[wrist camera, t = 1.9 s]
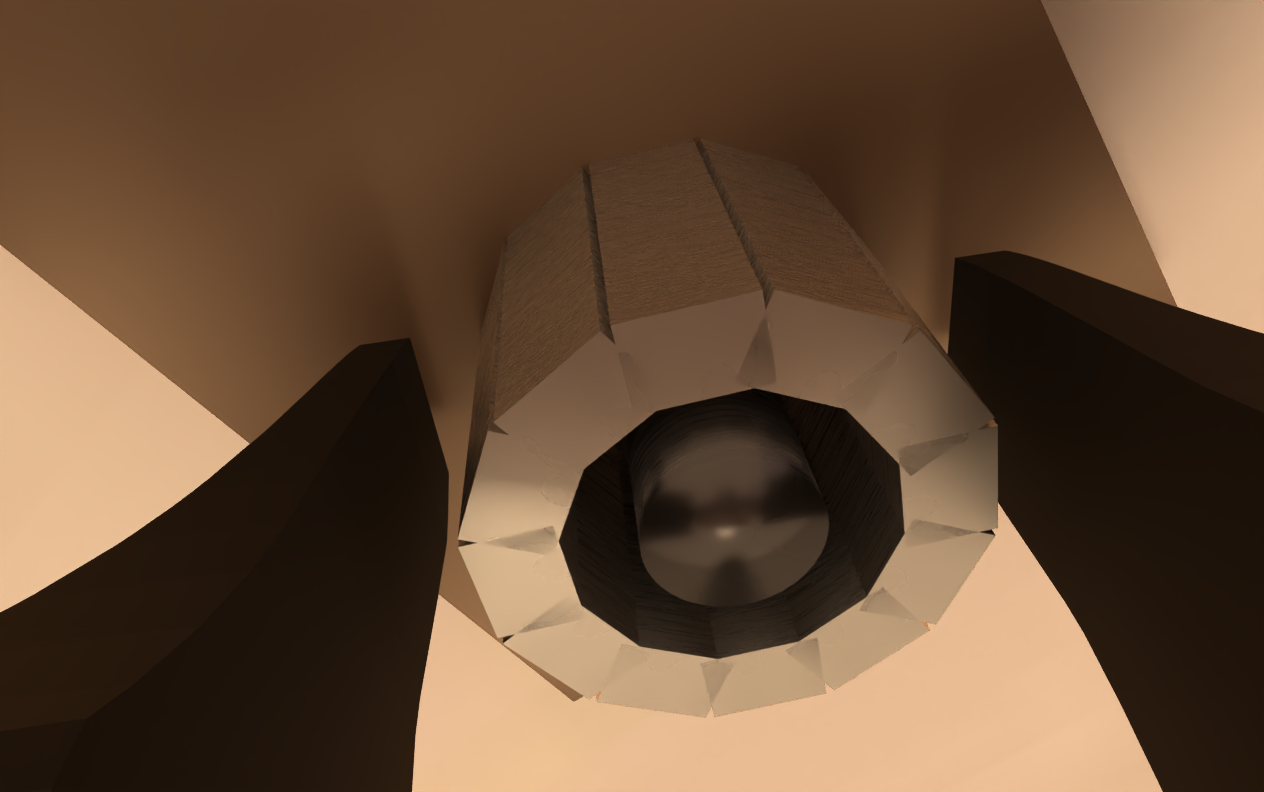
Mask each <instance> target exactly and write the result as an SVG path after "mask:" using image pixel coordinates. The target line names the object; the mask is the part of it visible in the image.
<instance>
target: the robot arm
mask: <svg viewBox="0 0 1264 792" xmlns="http://www.w3.org/2000/svg"><path fill="white" fill-rule="evenodd" d="M948 355H949V357H950V358H951V360H952V361H953V362H954V364H955V365H956V366H957V368H958V369H959V370H960V372H961V373H962V374H963V376H964V377H965V378H966V380H967V381H968V382H969V384H970V385H971V386H972V388H973V389H974V390H975V392H976V393H977V394H978V396H979V397H980V398H981V400H982V401H983V402H984V404H985V405H986V407H987V408H988V409H989V411H990V412H991V413H992V415H993V416H994V417H995V418H994V419H993V420H994V421H995V423H996V424H997V425H998V503H999V504H1000V506H1001V507H1002V509H1003V510H1004V512H1005V513H1006V515H1007V516H1008V518H1009V519H1010V521H1011V522H1012V524H1013V525H1014V527H1015V528H1016V530H1017V531H1018V533H1019V534H1020V536H1021V537H1022V539H1023V540H1024V542H1025V543H1026V545H1027V546H1028V548H1029V549H1030V551H1031V552H1032V553H1033V555H1034V556H1035V558H1036V559H1037V561H1038V562H1039V564H1040V565H1041V567H1042V568H1043V570H1044V571H1045V573H1046V574H1047V576H1048V577H1049V579H1050V580H1051V582H1052V583H1053V585H1054V586H1055V588H1056V589H1057V591H1058V592H1059V594H1060V595H1061V597H1062V598H1063V600H1064V601H1065V603H1066V604H1067V606H1068V608H1069V609H1070V611H1071V613H1072V614H1073V616H1074V618H1075V619H1076V621H1077V622H1078V624H1079V626H1080V627H1081V629H1082V631H1083V632H1084V634H1085V636H1086V638H1087V640H1088V642H1089V644H1090V646H1091V648H1092V649H1093V651H1094V653H1095V655H1096V657H1097V659H1098V661H1099V663H1100V665H1101V667H1102V669H1103V671H1104V673H1105V675H1106V677H1107V679H1108V680H1109V682H1110V684H1111V686H1112V688H1113V690H1114V692H1115V694H1116V696H1117V698H1118V700H1119V702H1120V704H1121V706H1122V708H1123V710H1124V712H1125V714H1126V716H1127V718H1128V720H1129V722H1130V724H1131V726H1132V728H1133V731H1134V733H1135V735H1136V737H1137V739H1138V741H1139V743H1140V745H1141V747H1142V749H1143V751H1144V753H1145V755H1146V758H1147V760H1148V762H1149V764H1150V766H1151V768H1152V770H1153V772H1154V774H1155V776H1156V778H1157V780H1158V782H1159V785H1160V787H1161V789H1162V791H1163V792H1264V334H1263V333H1259V332H1256V331H1252V330H1249V329H1246V328H1242V327H1239V326H1236V325H1233V324H1229V323H1226V322H1223V321H1219V320H1216V319H1213V318H1210V317H1206V316H1203V315H1200V314H1197V313H1194V312H1191V311H1188V310H1185V309H1182V308H1178V307H1175V306H1172V305H1169V304H1167V303H1164V302H1161V301H1158V300H1155V299H1152V298H1149V297H1146V296H1143V295H1141V294H1138V293H1135V292H1132V291H1129V290H1127V289H1124V288H1121V287H1118V286H1115V285H1113V284H1110V283H1107V282H1104V281H1102V280H1099V279H1096V278H1093V277H1090V276H1088V275H1085V274H1082V273H1079V272H1077V271H1074V270H1071V269H1068V268H1065V267H1062V266H1059V265H1057V264H1053V263H1050V262H1047V261H1044V260H1041V259H1038V258H1035V257H1032V256H1028V255H1024V254H1021V253H1016V252H1011V251H1006V250H1004V251H997V252H990V253H984V254H977V255H970V256H963V257H956V258H955V262H954V275H953V288H952V301H951V314H950V327H949V341H948ZM448 504H449V471H448V468H447V464H446V461H445V458H444V454H443V451H442V447H441V444H440V440H439V437H438V433H437V430H436V426H435V423H434V419H433V416H432V412H431V409H430V405H429V402H428V399H427V395H426V392H425V388H424V385H423V381H422V378H421V374H420V371H419V367H418V364H417V360H416V357H415V353H414V350H413V346H412V343H411V340H410V338H404V339H397V340H390V341H383V342H377V343H370V344H363V345H359V346H358V347H356V348H355V349H354V350H352V351H351V352H350V353H349V354H347V355H346V356H345V357H344V358H343V359H342V360H340V361H339V362H338V363H337V364H336V365H335V366H334V367H333V368H332V369H331V370H330V371H329V372H327V373H326V374H325V375H324V376H323V377H322V378H321V379H320V380H319V381H318V382H317V383H316V384H315V385H314V386H313V387H312V388H311V389H310V390H309V391H308V392H306V393H305V394H304V395H303V396H302V397H301V398H300V399H299V400H298V401H297V402H296V403H295V404H294V405H293V406H291V407H290V408H289V409H288V410H287V411H286V412H285V413H284V414H283V415H282V416H281V417H280V418H279V419H278V420H277V421H275V422H274V423H273V424H272V425H271V426H270V427H269V428H268V429H267V430H266V431H265V432H263V433H262V434H261V435H260V436H259V437H258V438H256V439H255V440H254V441H253V442H252V443H250V444H249V445H248V446H247V447H246V448H245V449H243V450H242V451H241V452H240V453H239V454H237V455H236V456H235V457H234V458H233V459H232V460H230V461H229V462H228V463H227V464H226V465H225V466H223V467H222V468H221V469H220V470H219V471H217V472H216V473H215V474H214V475H213V476H212V477H210V478H209V479H208V480H207V481H206V482H204V483H203V484H202V485H200V486H199V487H198V488H197V489H195V490H194V491H193V492H191V493H190V494H189V495H187V496H186V497H185V498H183V499H182V500H181V501H179V502H178V503H177V504H175V505H174V506H173V507H171V508H170V509H168V510H167V511H166V512H164V513H163V514H161V515H160V516H158V517H157V518H156V519H154V520H153V521H151V522H150V523H148V524H147V525H145V526H144V527H143V528H141V529H140V530H138V531H137V532H135V533H134V534H133V535H131V536H130V537H128V538H126V539H125V540H123V541H122V542H120V543H119V544H117V545H116V546H114V547H113V548H111V549H109V550H107V551H106V552H104V553H102V554H101V555H99V556H97V557H96V558H94V559H92V560H91V561H89V562H87V563H86V564H84V565H82V566H81V567H79V568H77V569H76V570H74V571H72V572H71V573H69V574H67V575H66V576H64V577H62V578H61V579H59V580H57V581H56V582H54V583H52V584H51V585H49V586H47V587H46V588H44V589H42V590H41V591H39V592H37V593H36V594H34V595H32V596H30V597H29V598H27V599H25V600H23V601H21V602H19V603H18V604H16V605H14V606H12V607H10V608H8V609H6V610H4V611H2V612H0V792H412V781H413V765H414V749H415V734H416V726H417V718H418V710H419V702H420V695H421V690H422V684H423V678H424V673H425V667H426V661H427V656H428V650H429V644H430V639H431V633H432V628H433V622H434V616H435V611H436V605H437V599H438V594H439V588H440V582H441V576H442V570H443V564H444V558H445V552H446V546H447V533H448Z"/></svg>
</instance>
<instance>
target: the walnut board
mask: <svg viewBox="0 0 1264 792" xmlns="http://www.w3.org/2000/svg"><path fill="white" fill-rule="evenodd" d="M691 138H693V140H694V142H695V144H696V146H697V148H698V145H699V142H700V139H701V138H702V139H705V140H709V141H712V142H715V143H719V144H722V145H725V146H729V147H732V148H736V149H739V150H742V151H746V152H749V153H752V154H756V155H759V156H763V157H766V158H769V159H773V160H776V161H780V162H783V163H786V164H790V165H793V166H796V167H799V169H800V170H801V172H802V173H803V172H804V171H805V172H806V174H807V175H808V176H809V177H810V178H811V179H812V181H813V182H814V183H815V184H816V185H817V187H818V188H819V189H820V190H821V191H822V193H823V194H824V195H825V196H826V197H827V198H828V200H829V201H830V202H831V203H832V204H833V206H834V207H835V208H836V209H837V210H838V212H839V213H840V214H841V215H842V216H843V217H844V219H845V220H846V221H847V222H848V223H849V225H850V226H851V227H852V228H853V229H854V231H855V232H856V233H857V234H858V235H859V236H860V238H861V239H862V240H863V241H864V243H865V244H866V245H867V247H868V248H869V249H870V251H871V252H872V253H873V255H874V256H875V257H876V259H877V260H878V261H879V263H880V264H881V266H882V267H883V268H884V270H885V271H886V272H887V274H888V275H889V276H890V278H891V279H892V280H893V282H894V283H895V284H896V286H897V287H898V288H899V290H900V291H901V292H902V294H903V295H904V296H905V298H906V299H907V300H908V302H909V303H910V304H911V306H912V307H913V308H914V310H915V311H916V313H917V314H918V315H919V317H920V318H921V319H922V321H923V322H924V323H925V325H926V326H927V327H928V329H929V330H930V331H931V333H932V334H933V335H934V337H935V338H936V339H937V341H938V342H939V343H940V345H941V346H942V347H943V349H944V350H945V351H946V353H947V354H948V341H949V327H950V314H951V301H952V288H953V275H954V262H955V258H956V257H963V256H970V255H977V254H984V253H990V252H997V251H1004V250H1006V251H1011V252H1016V253H1021V254H1024V255H1028V256H1032V257H1035V258H1038V259H1041V260H1044V261H1047V262H1050V263H1053V264H1057V265H1059V266H1062V267H1065V268H1068V269H1071V270H1074V271H1077V272H1079V273H1082V274H1085V275H1088V276H1090V277H1093V278H1096V279H1099V280H1102V281H1104V282H1107V283H1110V284H1113V285H1115V286H1118V287H1121V288H1124V289H1127V290H1129V291H1132V292H1135V293H1138V294H1141V295H1143V296H1146V297H1149V298H1152V299H1155V300H1158V301H1161V302H1164V303H1167V304H1169V305H1172V306H1175V307H1177V305H1176V303H1175V300H1174V298H1173V296H1172V294H1171V291H1170V289H1169V287H1168V285H1167V282H1166V280H1165V278H1164V276H1163V273H1162V271H1161V269H1160V267H1159V265H1158V262H1157V260H1156V258H1155V256H1154V253H1153V251H1152V249H1151V247H1150V244H1149V242H1148V240H1147V238H1146V235H1145V233H1144V231H1143V229H1142V226H1141V224H1140V222H1139V220H1138V218H1137V215H1136V213H1135V211H1134V209H1133V206H1132V204H1131V202H1130V200H1129V197H1128V195H1127V193H1126V191H1125V188H1124V186H1123V184H1122V182H1121V180H1120V177H1119V175H1118V173H1117V171H1116V168H1115V166H1114V164H1113V162H1112V159H1111V157H1110V155H1109V153H1108V150H1107V148H1106V146H1105V144H1104V141H1103V139H1102V137H1101V135H1100V133H1099V130H1098V128H1097V126H1096V124H1095V121H1094V119H1093V117H1092V115H1091V112H1090V110H1089V108H1088V106H1087V103H1086V101H1085V99H1084V97H1083V95H1082V92H1081V90H1080V88H1079V86H1078V83H1077V81H1076V79H1075V77H1074V74H1073V72H1072V70H1071V68H1070V65H1069V63H1068V61H1067V59H1066V56H1065V54H1064V52H1063V50H1062V48H1061V45H1060V43H1059V41H1058V39H1057V36H1056V34H1055V32H1054V30H1053V27H1052V25H1051V23H1050V21H1049V18H1048V16H1047V14H1046V12H1045V9H1044V7H1043V5H1042V3H1041V1H1040V0H0V245H1V246H3V247H4V248H5V249H6V250H8V251H9V252H10V253H11V254H13V255H14V256H15V257H16V258H18V259H19V260H20V261H21V262H23V263H24V264H25V265H26V266H28V267H29V268H30V269H31V270H33V271H34V272H35V273H37V274H38V275H39V276H40V277H42V278H43V279H44V280H45V281H47V282H48V283H49V284H50V285H52V286H53V287H54V288H55V289H57V290H58V291H59V292H60V293H62V294H63V295H64V296H65V297H67V298H68V299H69V300H70V301H72V302H73V303H74V304H75V305H77V306H78V307H79V308H80V309H82V310H83V311H84V312H85V313H87V314H88V315H89V316H90V317H92V318H93V319H94V320H95V321H97V322H98V323H99V324H101V325H102V326H103V327H104V328H106V329H107V330H108V331H109V332H111V333H112V334H113V335H114V336H116V337H117V338H118V339H119V340H121V341H122V342H123V343H124V344H126V345H127V346H128V347H129V348H131V349H132V350H133V351H134V352H136V353H137V354H138V355H139V356H141V357H142V358H143V359H144V360H146V361H147V362H148V363H149V364H151V365H152V366H153V367H154V368H156V369H157V370H158V371H159V372H161V373H162V374H163V375H164V376H166V377H167V378H168V379H170V380H171V381H172V382H173V383H175V384H176V385H177V386H178V387H180V388H181V389H182V390H183V391H185V392H186V393H187V394H188V395H190V396H191V397H192V398H193V399H195V400H196V401H197V402H198V403H200V404H201V405H202V406H203V407H205V408H206V409H207V410H208V411H210V412H211V413H212V414H213V415H215V416H216V417H217V418H218V419H220V420H221V421H222V422H223V423H225V424H226V425H227V426H228V427H230V428H231V429H232V430H233V431H235V432H236V433H237V434H239V435H240V436H241V437H242V438H244V439H245V440H246V441H247V442H249V443H252V442H253V441H254V440H255V439H256V438H258V437H259V436H260V435H261V434H262V433H263V432H265V431H266V430H267V429H268V428H269V427H270V426H271V425H272V424H273V423H274V422H275V421H277V420H278V419H279V418H280V417H281V416H282V415H283V414H284V413H285V412H286V411H287V410H288V409H289V408H290V407H291V406H293V405H294V404H295V403H296V402H297V401H298V400H299V399H300V398H301V397H302V396H303V395H304V394H305V393H306V392H308V391H309V390H310V389H311V388H312V387H313V386H314V385H315V384H316V383H317V382H318V381H319V380H320V379H321V378H322V377H323V376H324V375H325V374H326V373H327V372H329V371H330V370H331V369H332V368H333V367H334V366H335V365H336V364H337V363H338V362H339V361H340V360H342V359H343V358H344V357H345V356H346V355H347V354H349V353H350V352H351V351H352V350H354V349H355V348H356V347H358V346H359V345H363V344H370V343H377V342H383V341H390V340H397V339H404V338H410V340H411V343H412V346H413V350H414V353H415V357H416V360H417V364H418V367H419V371H420V374H421V378H422V381H423V385H424V388H425V392H426V395H427V399H428V402H429V405H430V409H431V412H432V416H433V419H434V423H435V426H436V430H437V433H438V437H439V440H440V444H441V447H442V451H443V454H444V458H445V461H446V464H447V468H448V471H449V504H448V533H447V546H446V552H445V558H444V564H443V570H442V576H441V582H440V588H439V595H441V596H442V597H443V598H444V599H446V600H447V601H448V602H449V603H451V604H452V605H453V606H454V607H456V608H457V609H458V610H459V611H461V612H462V613H463V614H464V615H466V616H467V617H468V618H469V619H471V620H472V621H473V622H474V623H476V624H477V625H478V626H479V627H481V628H482V629H483V630H484V631H486V632H487V633H488V634H489V635H491V636H492V637H493V638H494V639H496V640H497V641H498V642H499V643H501V644H502V645H503V646H504V647H506V648H507V649H508V650H510V651H511V652H512V653H513V654H515V655H516V656H517V657H518V658H520V659H521V660H522V661H523V662H525V663H526V664H527V665H528V666H530V667H531V668H532V669H533V670H535V671H536V672H537V673H538V674H540V675H541V676H542V677H543V678H545V679H546V680H547V681H548V682H550V683H551V684H552V685H553V686H555V687H556V688H557V689H558V690H560V691H561V692H562V693H563V694H565V695H566V696H567V697H568V698H570V699H571V700H572V701H576V700H578V699H579V698H581V697H583V695H581V694H580V693H578V692H577V691H575V690H574V689H572V688H570V687H569V686H567V685H566V684H564V683H563V682H561V681H560V680H558V679H557V678H555V677H553V676H552V675H550V674H549V673H547V672H546V671H544V670H543V669H541V668H539V667H538V666H536V665H535V664H533V663H532V662H530V661H529V660H527V659H526V658H524V657H522V656H521V655H519V654H518V653H516V652H515V651H513V650H512V649H510V648H508V647H507V646H505V645H504V644H503V637H500V638H497V636H496V633H495V631H494V629H493V626H492V624H491V622H490V619H489V617H488V615H487V613H486V610H485V608H484V606H483V603H482V601H481V599H480V596H479V594H478V592H477V590H476V587H475V585H474V583H473V580H472V578H471V576H470V574H469V571H468V569H467V567H466V564H465V562H464V560H463V557H462V555H461V553H460V551H459V548H458V544H459V539H458V530H459V521H460V512H461V504H462V495H463V486H464V477H465V468H466V460H467V451H468V442H469V433H470V424H471V416H472V407H473V398H474V389H475V380H476V371H477V363H478V354H479V345H480V336H481V329H482V325H483V322H484V318H485V314H486V310H487V306H488V302H489V298H490V295H491V291H492V287H493V283H494V279H495V275H496V271H497V268H498V264H499V260H500V256H501V252H502V248H503V244H507V238H508V236H509V235H510V234H511V233H513V232H514V231H515V230H516V229H517V228H518V227H519V226H520V225H521V224H522V223H523V222H524V221H525V220H526V219H527V218H528V217H529V216H530V215H532V214H533V213H534V212H535V211H536V210H537V209H538V208H539V207H540V206H541V205H542V204H543V203H544V202H545V201H546V200H547V199H548V198H550V197H551V196H552V195H553V194H554V193H555V192H556V191H557V190H558V189H559V188H560V187H561V186H562V185H563V184H564V183H565V182H566V181H568V180H569V179H570V178H571V177H572V176H573V175H574V174H575V173H576V172H577V171H578V170H579V169H580V168H582V169H583V170H584V171H585V172H586V173H587V174H588V175H589V176H590V170H589V163H593V162H597V161H601V160H605V159H609V158H613V157H617V156H621V155H626V154H630V153H634V152H638V151H642V150H646V149H650V148H654V147H658V146H662V145H667V144H671V143H675V142H679V141H683V140H687V139H691Z"/></svg>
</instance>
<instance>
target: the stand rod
mask: <svg viewBox="0 0 1264 792" xmlns="http://www.w3.org/2000/svg"><path fill="white" fill-rule="evenodd" d="M625 442H626V449H627V457H628V464H629V471H630V479H631V486H632V494H633V501H634V509H635V516H636V524H637V531H638V539H639V546H640V552H641V557H642V560H643V563H644V565H645V568H646V569H647V571H648V573H649V574H650V576H651V577H652V578H653V579H654V580H655V582H656V583H658V584H659V585H660V586H661V587H662V588H663V589H665V590H666V591H668V592H669V593H671V594H672V595H674V596H677V597H679V598H681V599H683V600H686V601H689V602H692V603H696V604H701V605H708V606H737V605H743V604H749V603H753V602H756V601H760V600H763V599H765V598H768V597H771V596H773V595H775V594H777V593H779V592H781V591H783V590H785V589H786V588H788V587H790V586H791V585H793V584H794V583H795V582H797V581H798V580H799V579H800V578H802V577H803V576H804V575H805V574H806V573H807V572H808V571H809V570H810V568H811V567H812V566H813V565H814V564H815V562H816V561H817V559H818V558H819V556H820V555H821V553H822V551H823V548H824V546H825V544H826V540H827V537H828V530H829V516H828V512H827V507H826V505H825V502H824V500H823V497H822V495H821V492H820V490H819V488H818V485H817V483H816V480H815V478H814V475H813V473H812V470H811V468H810V466H809V463H808V461H807V458H806V456H805V453H804V451H803V448H802V446H801V444H800V441H799V439H798V436H797V434H796V431H795V429H794V426H793V424H792V422H791V419H790V417H789V414H788V412H787V409H786V407H785V404H784V402H783V400H782V397H781V395H780V394H778V393H774V392H770V391H766V390H761V389H757V388H753V389H749V390H745V391H740V392H736V393H732V394H727V395H723V396H719V397H714V398H710V399H706V400H701V401H697V402H692V403H688V404H684V405H679V406H675V407H671V408H666V409H662V410H658V411H656V412H654V413H653V414H652V415H651V416H649V417H648V418H647V419H646V420H644V421H643V422H642V423H641V424H639V425H638V426H637V427H636V428H634V429H633V430H632V431H631V432H629V433H628V434H627V435H626V436H625Z"/></svg>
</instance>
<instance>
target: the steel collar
mask: <svg viewBox="0 0 1264 792" xmlns="http://www.w3.org/2000/svg"><path fill="white" fill-rule="evenodd" d="M589 170H590V176H589V175H588V174H587V173H586V172H585V171H584V170H583V169H582V168H580V169H579V170H578V171H577V172H576V173H575V174H574V175H573V176H572V177H571V178H570V179H569V180H568V181H566V182H565V183H564V184H563V185H562V186H561V187H560V188H559V189H558V190H557V191H556V192H555V193H554V194H553V195H552V196H551V197H550V198H548V199H547V200H546V201H545V202H544V203H543V204H542V205H541V206H540V207H539V208H538V209H537V210H536V211H535V212H534V213H533V214H532V215H530V216H529V217H528V218H527V219H526V220H525V221H524V222H523V223H522V224H521V225H520V226H519V227H518V228H517V229H516V230H515V231H514V232H513V233H511V234H510V235H509V236H508V238H507V244H503V248H502V252H501V256H500V260H499V264H498V268H497V271H496V275H495V279H494V283H493V287H492V291H491V295H490V298H489V302H488V306H487V310H486V314H485V318H484V322H483V325H482V329H481V336H480V345H479V354H478V363H477V371H476V380H475V389H474V398H473V407H472V416H471V424H470V433H469V442H468V451H467V460H466V468H465V477H464V486H463V495H462V504H461V512H460V521H459V530H458V539H459V544H458V548H459V551H460V553H461V555H462V557H463V560H464V562H465V564H466V567H467V569H468V571H469V574H470V576H471V578H472V580H473V583H474V585H475V587H476V590H477V592H478V594H479V596H480V599H481V601H482V603H483V606H484V608H485V610H486V613H487V615H488V617H489V619H490V622H491V624H492V626H493V629H494V631H495V633H496V636H497V638H500V637H503V644H504V645H505V646H507V647H508V648H510V649H512V650H513V651H515V652H516V653H518V654H519V655H521V656H522V657H524V658H526V659H527V660H529V661H530V662H532V663H533V664H535V665H536V666H538V667H539V668H541V669H543V670H544V671H546V672H547V673H549V674H550V675H552V676H553V677H555V678H557V679H558V680H560V681H561V682H563V683H564V684H566V685H567V686H569V687H570V688H572V689H574V690H575V691H577V692H578V693H580V694H581V695H583V696H584V697H586V698H588V699H590V698H592V697H593V696H595V695H596V698H597V702H599V703H606V704H613V705H620V706H627V707H634V708H641V709H648V710H655V711H662V712H669V713H676V714H684V715H691V716H698V717H705V718H706V716H707V714H708V712H709V711H710V709H711V707H712V710H713V714H714V717H718V716H723V715H728V714H732V713H737V712H742V711H746V710H751V709H756V708H760V707H765V706H770V705H774V704H779V703H784V702H788V701H793V700H798V699H802V698H807V697H812V696H816V695H821V694H826V689H825V683H826V684H827V685H828V686H830V687H831V688H832V689H834V690H835V689H837V688H839V687H840V686H842V685H843V684H845V683H847V682H848V681H850V680H851V679H853V678H855V677H856V676H858V675H859V674H861V673H863V672H864V671H866V670H867V669H869V668H871V667H872V666H874V665H875V664H877V663H879V662H880V661H882V660H883V659H885V658H887V657H888V656H890V655H891V654H893V653H895V652H896V651H898V650H899V649H901V648H903V647H904V646H906V645H907V644H909V643H910V642H912V641H914V640H915V639H917V638H918V637H920V636H922V635H923V634H925V633H926V632H928V631H930V629H929V627H928V625H927V623H931V624H937V623H938V621H939V620H940V618H941V617H942V615H943V614H944V612H945V611H946V609H947V608H948V606H949V605H950V603H951V602H952V600H953V599H954V597H955V596H956V594H957V592H958V591H959V589H960V588H961V586H962V585H963V583H964V582H965V580H966V579H967V577H968V576H969V574H970V573H971V571H972V570H973V568H974V567H975V565H976V564H977V562H978V561H979V559H980V558H981V556H982V555H983V553H984V552H985V550H986V549H987V547H988V546H989V544H990V543H991V541H992V540H993V538H994V537H995V534H994V533H993V531H992V529H995V528H998V425H997V424H996V423H995V421H994V420H993V419H994V418H995V417H994V416H993V415H992V413H991V412H990V411H989V409H988V408H987V407H986V405H985V404H984V402H983V401H982V400H981V398H980V397H979V396H978V394H977V393H976V392H975V390H974V389H973V388H972V386H971V385H970V384H969V382H968V381H967V380H966V378H965V377H964V376H963V374H962V373H961V372H960V370H959V369H958V368H957V366H956V365H955V364H954V362H953V361H952V360H951V358H950V357H949V355H948V354H947V353H946V351H945V350H944V349H943V347H942V346H941V345H940V343H939V342H938V341H937V339H936V338H935V337H934V335H933V334H932V333H931V331H930V330H929V329H928V327H927V326H926V325H925V323H924V322H923V321H922V319H921V318H920V317H919V315H918V314H917V313H916V311H915V310H914V308H913V307H912V306H911V304H910V303H909V302H908V300H907V299H906V298H905V296H904V295H903V294H902V292H901V291H900V290H899V288H898V287H897V286H896V284H895V283H894V282H893V280H892V279H891V278H890V276H889V275H888V274H887V272H886V271H885V270H884V268H883V267H882V266H881V264H880V263H879V261H878V260H877V259H876V257H875V256H874V255H873V253H872V252H871V251H870V249H869V248H868V247H867V245H866V244H865V243H864V241H863V240H862V239H861V238H860V236H859V235H858V234H857V233H856V232H855V231H854V229H853V228H852V227H851V226H850V225H849V223H848V222H847V221H846V220H845V219H844V217H843V216H842V215H841V214H840V213H839V212H838V210H837V209H836V208H835V207H834V206H833V204H832V203H831V202H830V201H829V200H828V198H827V197H826V196H825V195H824V194H823V193H822V191H821V190H820V189H819V188H818V187H817V185H816V184H815V183H814V182H813V181H812V179H811V178H810V177H809V176H808V175H807V174H806V172H805V171H804V172H803V173H802V172H801V170H800V169H799V167H796V166H793V165H790V164H786V163H783V162H780V161H776V160H773V159H769V158H766V157H763V156H759V155H756V154H752V153H749V152H746V151H742V150H739V149H736V148H732V147H729V146H725V145H722V144H719V143H715V142H712V141H709V140H705V139H702V138H701V139H700V142H699V145H698V148H697V146H696V144H695V142H694V140H693V138H691V139H687V140H683V141H679V142H675V143H671V144H667V145H662V146H658V147H654V148H650V149H646V150H642V151H638V152H634V153H630V154H626V155H621V156H617V157H613V158H609V159H605V160H601V161H597V162H593V163H589ZM753 388H757V389H761V390H766V391H770V392H774V393H778V394H780V395H781V397H782V400H783V402H784V404H785V407H786V409H787V412H788V414H789V417H790V419H791V422H792V424H793V426H794V429H795V431H796V434H797V436H798V439H799V441H800V444H801V446H802V448H803V451H804V453H805V456H806V458H807V461H808V463H809V466H810V468H811V470H812V473H813V475H814V478H815V480H816V483H817V485H818V488H819V490H820V492H821V495H822V497H823V500H824V502H825V505H826V507H827V512H828V516H829V530H828V537H827V540H826V544H825V546H824V548H823V551H822V553H821V555H820V556H819V558H818V559H817V561H816V562H815V564H814V565H813V566H812V567H811V568H810V570H809V571H808V572H807V573H806V574H805V575H804V576H803V577H802V578H800V579H799V580H798V581H797V582H795V583H794V584H793V585H791V586H790V587H788V588H786V589H785V590H783V591H781V592H779V593H777V594H775V595H773V596H771V597H768V598H765V599H763V600H760V601H756V602H753V603H749V604H743V605H737V606H708V605H701V604H696V603H692V602H689V601H686V600H683V599H681V598H679V597H677V596H674V595H672V594H671V593H669V592H668V591H666V590H665V589H663V588H662V587H661V586H660V585H659V584H658V583H656V582H655V580H654V579H653V578H652V577H651V576H650V574H649V573H648V571H647V569H646V568H645V565H644V563H643V560H642V557H641V552H640V546H639V539H638V531H637V524H636V516H635V509H634V501H633V494H632V486H631V479H630V471H629V464H628V457H627V449H626V442H625V436H626V435H627V434H628V433H629V432H631V431H632V430H633V429H634V428H636V427H637V426H638V425H639V424H641V423H642V422H643V421H644V420H646V419H647V418H648V417H649V416H651V415H652V414H653V413H654V412H656V411H658V410H662V409H666V408H671V407H675V406H679V405H684V404H688V403H692V402H697V401H701V400H706V399H710V398H714V397H719V396H723V395H727V394H732V393H736V392H740V391H745V390H749V389H753ZM824 682H825V683H824Z"/></svg>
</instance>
